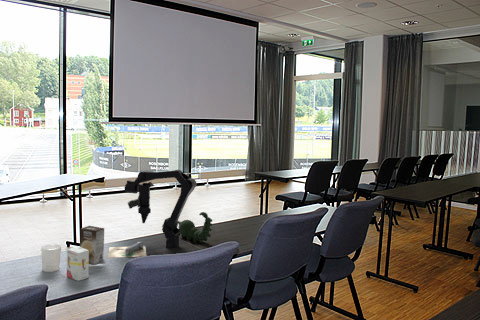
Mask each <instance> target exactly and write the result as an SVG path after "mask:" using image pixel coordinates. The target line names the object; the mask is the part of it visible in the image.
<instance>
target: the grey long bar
mask: <svg viewBox="0 0 480 320" xmlns="http://www.w3.org/2000/svg"><path fill="white" fill-rule="evenodd" d="M143 246H144V241H136V243H134V244H132V245H130V246H127V247H128V248H126V249H125V255H130V254H132V253H133V252H135V251H137V250H139V249H143Z"/></svg>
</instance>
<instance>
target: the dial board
mask: <svg viewBox="0 0 480 320" xmlns="http://www.w3.org/2000/svg"><path fill="white" fill-rule="evenodd" d="M128 247H129V246H111V247H108V254H107V258H112V259H113V258H133V257H135V258H136V257H147V250H146V249H147V248H146V245H143V249H139V250H137V251H135V252H133V253H132V254H130V255H125V249H126V248H128Z"/></svg>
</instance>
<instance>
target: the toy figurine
mask: <svg viewBox="0 0 480 320" xmlns="http://www.w3.org/2000/svg"><path fill="white" fill-rule="evenodd" d="M198 216H202V218H204V222H203V226H202V229H201V230H199V229H198V228H197V227H196V225H195V223H194V222H193V220H191V219H184V220H182V221H179V220H178V229H179V230H180V231H181V234H180V237H181V238H186V240H187V241H191V240H192V242H193V243H194V244H196V243H198V242H199V243H200V244H201V243H203V241H204V242H207V241H208V238H211V237H212V235H211V234H210V232H212V231H213V229H212V228H211V227H213V223H212V222H213V219H212V218H211V217H209V215H208V213H207V212H205V211H202V212H200V213H199V215H198Z"/></svg>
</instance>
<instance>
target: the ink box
mask: <svg viewBox="0 0 480 320" xmlns="http://www.w3.org/2000/svg"><path fill="white" fill-rule="evenodd" d="M89 263H90V262H89V251H88V250H87V249H84V248H81V247H80V246H75V247H71V248H67V250H66V277H68V278H70V279H72V280H76V281H83V280H85V279H89V268H90V267H89V265H90V264H89Z"/></svg>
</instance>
